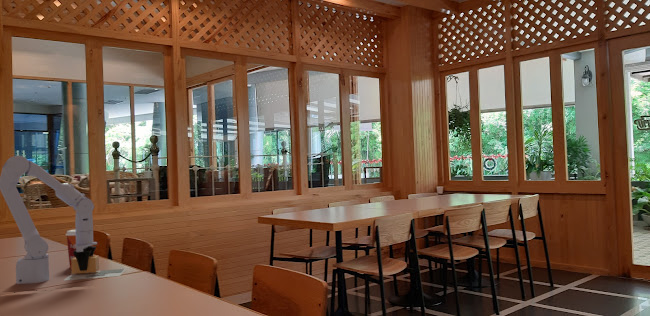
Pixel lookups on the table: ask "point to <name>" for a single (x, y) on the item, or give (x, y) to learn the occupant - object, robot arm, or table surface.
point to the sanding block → (92, 265)
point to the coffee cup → (71, 244)
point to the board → (96, 274)
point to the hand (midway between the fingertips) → (85, 268)
